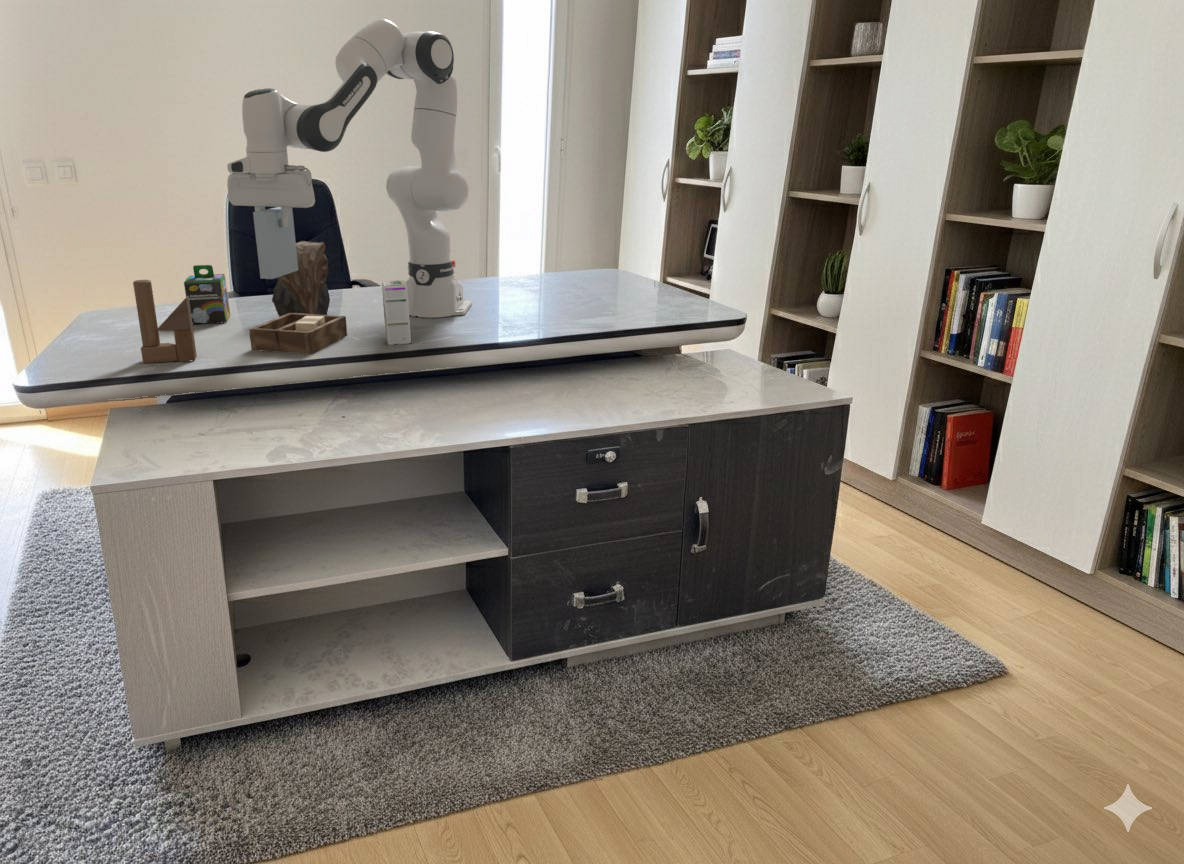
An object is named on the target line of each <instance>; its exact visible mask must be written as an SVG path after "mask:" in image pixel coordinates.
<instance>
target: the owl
mask: <svg viewBox="0 0 1184 864" xmlns="http://www.w3.org/2000/svg"><path fill="white" fill-rule="evenodd" d="M296 251H297V261H298V271H295V272H292V273H289V274H286V275H283V276H280V277H277V278H275V279H276V281H277V283H276V285H275V286H274V288H273V295H272V298H271V302H272V303H273V304H274V305H273V306H274V308H275V310H276V312H277V313H276V314H277V315H278V317H280V316H283V315H285V314H288V313H301V314H317V315H328V311H329V307H330V302H331V301H330V300H331V299H330V293H329V289H328V287H327V276H328V274H329V264H328V263H329V260H328V258H327V256H326V253H325V252H326V244H325V242H324V241H320V242H316V241H314V242H312V241H309V240H308V241H306V240H301V241H299V242H296Z"/></svg>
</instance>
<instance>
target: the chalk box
mask: <svg viewBox="0 0 1184 864" xmlns="http://www.w3.org/2000/svg"><path fill="white" fill-rule="evenodd" d="M192 270H193V274H194V275H189V276H188V277H187V278H185V281H184V282H183V285H184V286H183V287H184V294H185V298H186V297H187V296H189V302H190V310H191V317H192V323H212V324H221V323H220V322H223V323H222V324H225V323H224V322H226V323H227V322H228V321H229V319H230V317H231V311H230V310H231V309H230V302H229V296H228V288H227V281H226V275H225V273H214V269H213V265H211V264H200V265H199V264H198V265H197V264H196V265H193V267H192ZM201 270H205V271H206V270H207V273H200V271H201ZM217 322H218V323H217Z"/></svg>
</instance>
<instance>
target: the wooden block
mask: <svg viewBox="0 0 1184 864" xmlns="http://www.w3.org/2000/svg"><path fill="white" fill-rule="evenodd" d="M132 285H133V291H134V299H135V303H136V310H137V318H138V324H139V330H140V336H141V337H140V338H141V343H142V346H141V348H140V353H141V359H142V363H143V364H152V363H155V362H156V363H171V362H174V361H176V362H180V361H181V362H190V361H189V360H194V361H195V360H196V359H197V349H196V347H197V346H196V340H195V332H194V328H193V325H194V324H192V317H191V310H190V302H189V296H187V297H186V296H185V298H184V299H183V300H182V301H181V302H180V303H179V304H178V306H177V307H175V309H174V310H172V312H171V313H170V314H169V315H168V317H167V318H166V319H165V320H164V321H163V322H162V323H161V324H160V325H159V326H158V321H157V314H156V313H157V312H156V305H155V297H154V291H153V285H152V280H149V279H136V280H134V281H133V283H132ZM164 331H165V332H167V331H168V332H169V331H173V335H174V343H172V342H171V343H170V342H163V343H162V342H161V339H160V334H159V332H164Z"/></svg>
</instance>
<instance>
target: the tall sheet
mask: <svg viewBox="0 0 1184 864" xmlns="http://www.w3.org/2000/svg"><path fill="white" fill-rule="evenodd" d="M283 213H284V212H281V207H270V208H265V210H261V211H257V212H255V211H253V212H252V215H253V224H254V233H255V234H254V235H255V243H256V251H257V258H258V267H259V276H260V279H265V280H274V279H276V278H277V277H280V276H283V275H286V274H289V273H292V272H295V271H298V261H297V251H296V243H297V242H296V234H295V233H296V232H295V231H296V230H295V224H294V223H295V222H294V213H293V207H291V213H290V215H289V217H288V226H287V227H279V223H278V219H281V218H282V215H283Z"/></svg>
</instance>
